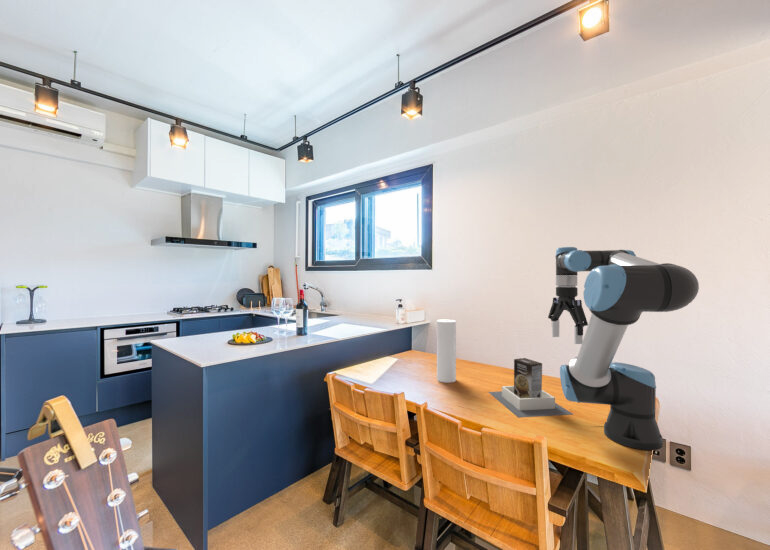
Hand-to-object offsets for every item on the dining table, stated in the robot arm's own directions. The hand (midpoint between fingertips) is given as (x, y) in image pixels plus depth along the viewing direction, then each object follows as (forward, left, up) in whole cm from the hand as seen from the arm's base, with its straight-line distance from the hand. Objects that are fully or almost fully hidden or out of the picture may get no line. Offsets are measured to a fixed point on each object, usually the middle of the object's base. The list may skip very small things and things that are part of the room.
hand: (566, 340), depth 130 cm
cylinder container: (+39, +37, -27) cm, 60 cm away
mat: (+6, +13, -27) cm, 30 cm away
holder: (+6, +13, -26) cm, 30 cm away
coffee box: (+6, +13, -26) cm, 29 cm away
